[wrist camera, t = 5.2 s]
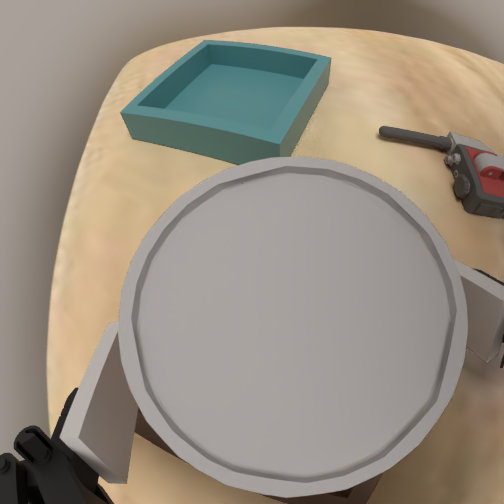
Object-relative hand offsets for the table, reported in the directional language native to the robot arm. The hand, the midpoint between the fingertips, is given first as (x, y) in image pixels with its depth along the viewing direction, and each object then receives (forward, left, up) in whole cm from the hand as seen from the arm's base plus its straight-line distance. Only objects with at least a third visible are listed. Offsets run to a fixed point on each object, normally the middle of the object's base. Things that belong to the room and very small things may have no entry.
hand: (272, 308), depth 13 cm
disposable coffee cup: (+1, +1, -6) cm, 6 cm away
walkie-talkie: (-20, +13, -6) cm, 25 cm away
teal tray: (-19, -12, -6) cm, 23 cm away
